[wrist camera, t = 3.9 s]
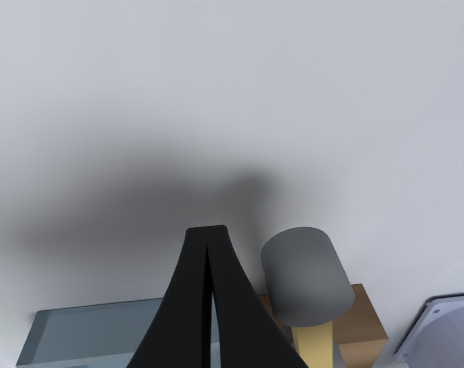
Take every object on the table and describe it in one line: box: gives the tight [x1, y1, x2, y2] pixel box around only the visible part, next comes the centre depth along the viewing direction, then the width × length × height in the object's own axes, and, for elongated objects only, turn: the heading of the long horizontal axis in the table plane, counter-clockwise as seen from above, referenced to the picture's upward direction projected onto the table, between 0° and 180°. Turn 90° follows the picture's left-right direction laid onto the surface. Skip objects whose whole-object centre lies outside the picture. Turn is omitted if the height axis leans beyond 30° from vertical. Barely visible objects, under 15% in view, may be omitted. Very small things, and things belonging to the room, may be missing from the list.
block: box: [258, 284, 389, 368], centre depth 21 cm, size 12×9×4 cm
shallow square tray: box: [16, 293, 221, 368], centre depth 21 cm, size 11×11×3 cm
